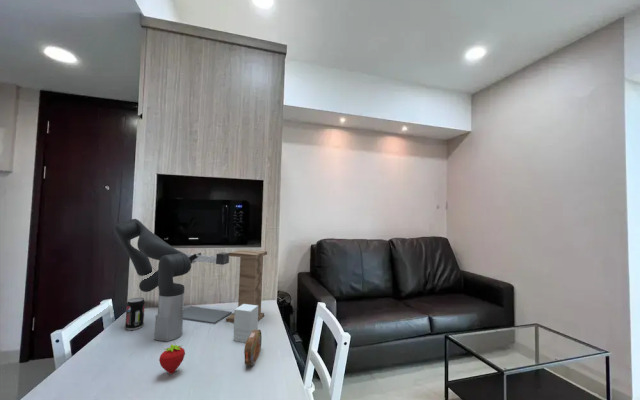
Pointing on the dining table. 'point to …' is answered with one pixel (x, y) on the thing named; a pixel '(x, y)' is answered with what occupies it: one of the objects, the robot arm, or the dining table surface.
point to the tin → (252, 347)
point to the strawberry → (172, 358)
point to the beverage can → (135, 313)
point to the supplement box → (245, 321)
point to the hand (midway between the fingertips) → (198, 255)
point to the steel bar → (212, 258)
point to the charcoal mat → (204, 314)
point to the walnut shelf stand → (249, 279)
